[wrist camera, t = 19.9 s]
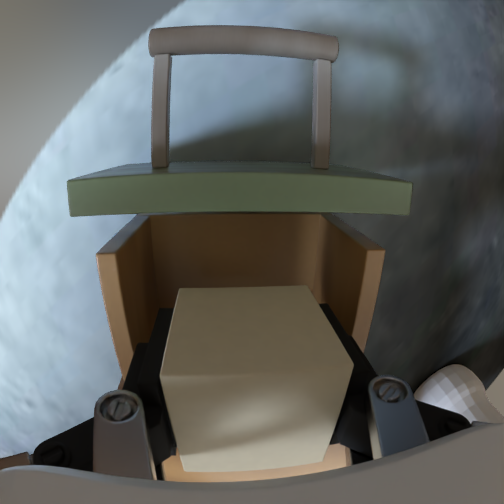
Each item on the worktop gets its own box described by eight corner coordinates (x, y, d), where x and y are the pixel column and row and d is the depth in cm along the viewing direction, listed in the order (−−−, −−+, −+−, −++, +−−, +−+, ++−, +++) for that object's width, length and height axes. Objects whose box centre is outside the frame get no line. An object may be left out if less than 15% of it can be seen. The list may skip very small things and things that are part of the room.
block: (189, 382, 12) (184, 472, 7) (179, 287, 10) (158, 375, 6) (295, 378, 12) (323, 462, 8) (307, 284, 11) (355, 364, 6)
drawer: (128, 62, 13) (74, 17, 6) (344, 67, 14) (414, 32, 7) (151, 373, 19) (135, 452, 13) (317, 367, 20) (348, 441, 14)
